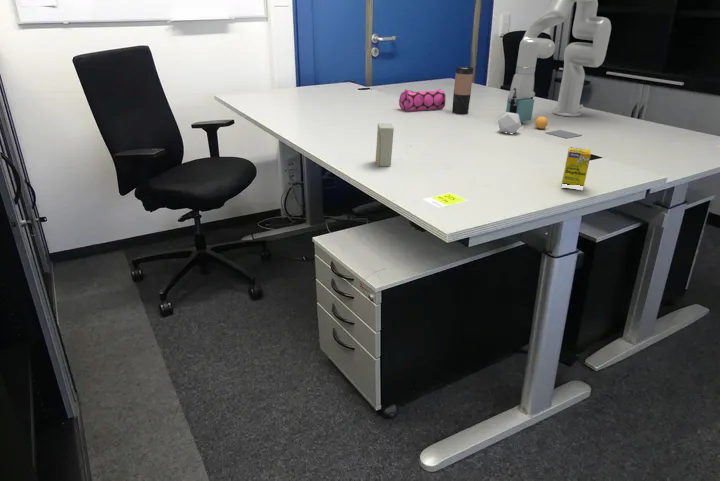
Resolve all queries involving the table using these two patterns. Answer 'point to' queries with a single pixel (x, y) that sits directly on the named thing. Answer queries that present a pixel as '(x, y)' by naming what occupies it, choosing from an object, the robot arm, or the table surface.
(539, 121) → the ball
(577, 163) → the supplement box
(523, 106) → the teal toy cube
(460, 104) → the travel mug
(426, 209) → the table surface
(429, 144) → the table surface
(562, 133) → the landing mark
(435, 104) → the pencil case
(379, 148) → the skincare box
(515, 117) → the die
